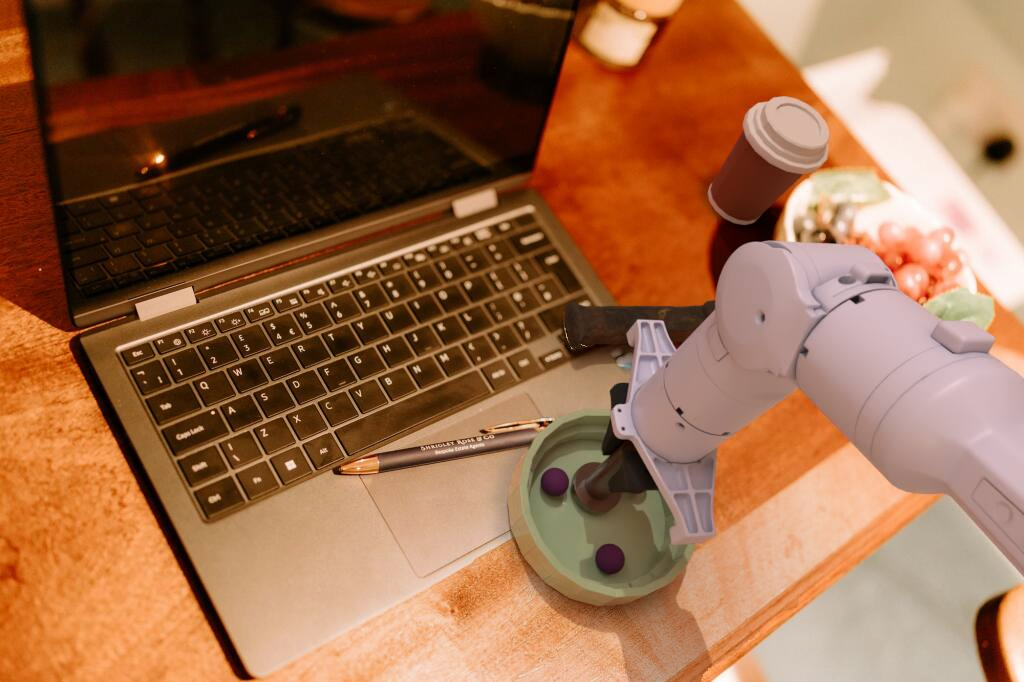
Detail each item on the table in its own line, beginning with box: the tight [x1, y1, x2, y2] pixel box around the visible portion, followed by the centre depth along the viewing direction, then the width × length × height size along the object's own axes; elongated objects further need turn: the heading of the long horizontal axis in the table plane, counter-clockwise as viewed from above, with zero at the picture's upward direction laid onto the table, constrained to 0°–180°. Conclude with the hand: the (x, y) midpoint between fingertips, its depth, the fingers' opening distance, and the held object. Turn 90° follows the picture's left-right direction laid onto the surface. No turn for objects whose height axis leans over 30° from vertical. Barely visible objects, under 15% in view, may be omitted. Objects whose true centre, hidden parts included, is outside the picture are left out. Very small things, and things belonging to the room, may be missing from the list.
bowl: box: [507, 408, 697, 607], centre depth 54 cm, size 14×14×4 cm
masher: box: [571, 440, 637, 514], centre depth 52 cm, size 4×4×8 cm
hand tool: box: [561, 299, 715, 351], centre depth 64 cm, size 19×4×5 cm, turn 97°
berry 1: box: [541, 468, 569, 497], centre depth 54 cm, size 2×2×2 cm
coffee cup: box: [707, 95, 831, 226], centre depth 73 cm, size 9×9×12 cm
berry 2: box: [595, 544, 625, 574], centre depth 52 cm, size 2×2×2 cm
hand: (617, 468), depth 51 cm, fingers closed on masher, 2 cm apart
